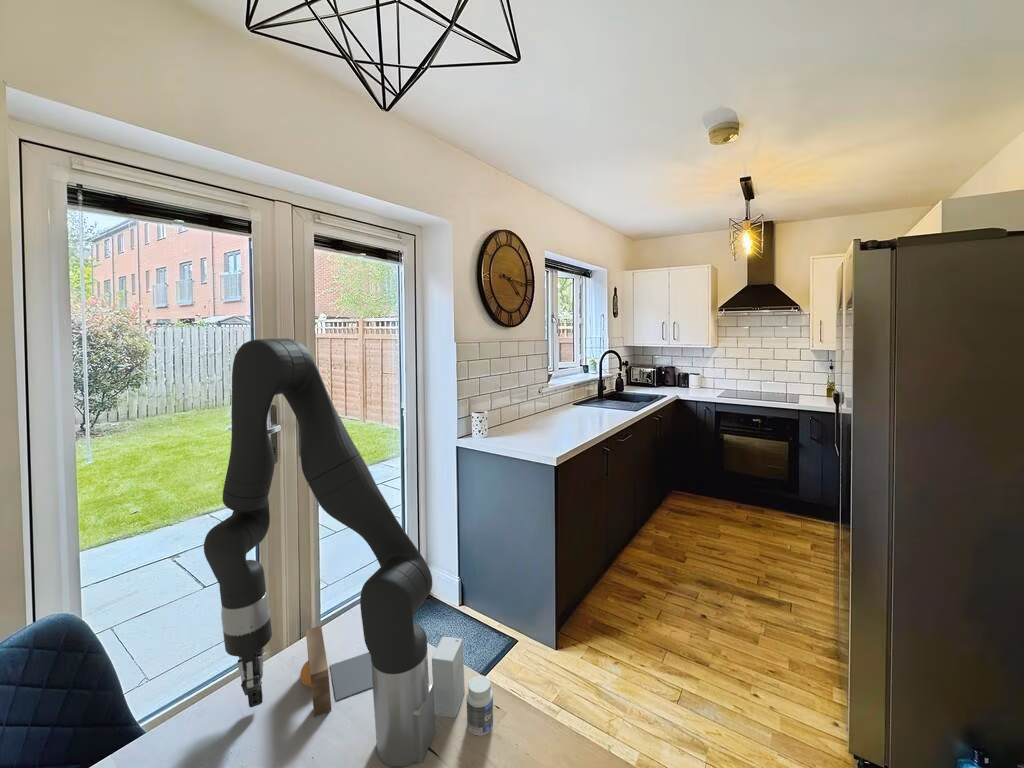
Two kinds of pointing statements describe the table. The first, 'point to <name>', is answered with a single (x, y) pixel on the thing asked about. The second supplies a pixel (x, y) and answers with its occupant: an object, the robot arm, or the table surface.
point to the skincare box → (448, 676)
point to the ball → (306, 674)
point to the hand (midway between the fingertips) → (256, 702)
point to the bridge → (318, 671)
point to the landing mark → (352, 676)
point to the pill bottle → (479, 705)
